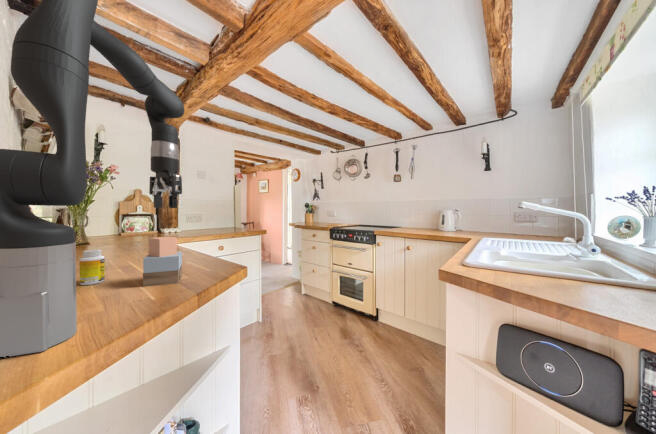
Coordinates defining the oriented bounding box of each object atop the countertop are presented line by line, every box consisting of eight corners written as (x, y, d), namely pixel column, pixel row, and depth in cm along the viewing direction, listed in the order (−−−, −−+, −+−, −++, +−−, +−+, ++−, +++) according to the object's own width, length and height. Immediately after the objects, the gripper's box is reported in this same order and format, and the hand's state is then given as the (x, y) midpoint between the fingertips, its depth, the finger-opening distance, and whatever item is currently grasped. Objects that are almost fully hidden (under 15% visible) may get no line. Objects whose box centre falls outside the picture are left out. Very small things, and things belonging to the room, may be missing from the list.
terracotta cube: (177, 254, 77) (177, 237, 77) (159, 257, 72) (159, 239, 72) (166, 252, 79) (166, 236, 79) (148, 255, 74) (148, 238, 74)
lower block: (178, 284, 74) (178, 270, 74) (142, 287, 70) (142, 272, 70) (182, 276, 82) (182, 264, 82) (150, 279, 78) (150, 266, 78)
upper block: (178, 270, 74) (178, 256, 74) (143, 273, 70) (143, 258, 70) (181, 264, 82) (181, 251, 82) (150, 266, 78) (150, 253, 78)
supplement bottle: (103, 283, 72) (103, 250, 72) (77, 287, 69) (77, 252, 68) (105, 279, 76) (105, 248, 76) (81, 282, 73) (81, 250, 73)
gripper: (190, 158, 75) (190, 208, 75) (165, 161, 81) (165, 208, 82) (164, 153, 68) (165, 208, 69) (140, 157, 75) (140, 207, 75)
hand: (165, 207), depth 75 cm, fingers open, 8 cm apart
